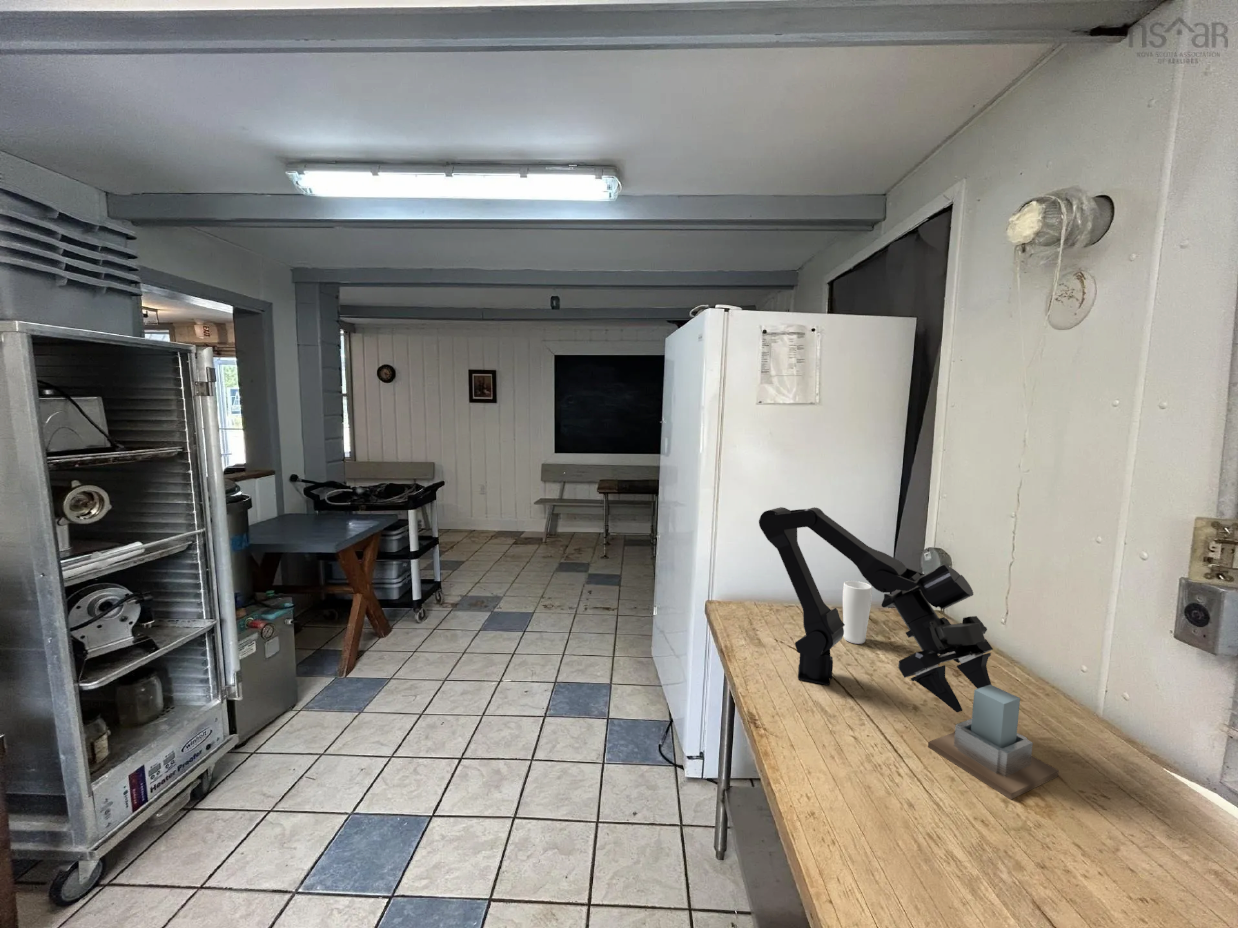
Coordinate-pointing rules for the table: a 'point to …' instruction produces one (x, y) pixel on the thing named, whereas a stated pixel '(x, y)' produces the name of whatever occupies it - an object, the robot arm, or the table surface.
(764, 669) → the table surface
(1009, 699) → the light blue pillar
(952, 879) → the table surface
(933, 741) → the docking socket
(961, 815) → the table surface
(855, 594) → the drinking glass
